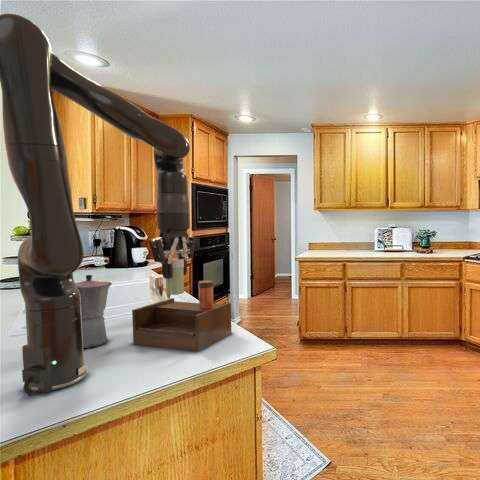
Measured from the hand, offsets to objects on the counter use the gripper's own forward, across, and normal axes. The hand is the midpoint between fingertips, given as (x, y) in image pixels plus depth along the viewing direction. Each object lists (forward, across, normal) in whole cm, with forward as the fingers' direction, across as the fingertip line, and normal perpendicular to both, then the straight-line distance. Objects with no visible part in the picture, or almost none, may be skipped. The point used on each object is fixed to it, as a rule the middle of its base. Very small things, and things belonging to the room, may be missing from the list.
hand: (175, 276), depth 92 cm
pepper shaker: (+12, -15, -2) cm, 19 cm away
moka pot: (+21, +1, -30) cm, 37 cm away
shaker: (+4, 0, 0) cm, 4 cm away
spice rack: (+21, -11, -7) cm, 25 cm away
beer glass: (+21, -28, -33) cm, 48 cm away
